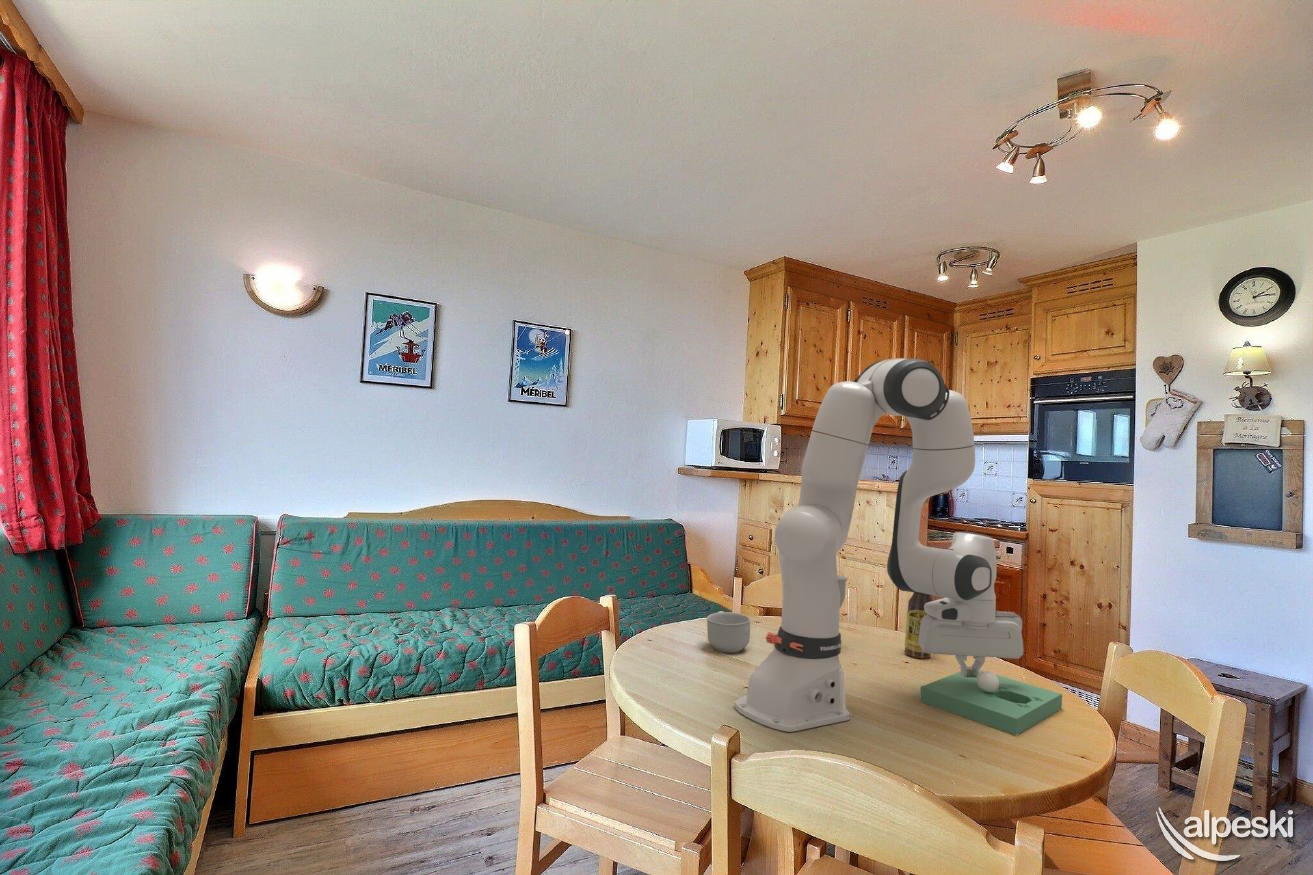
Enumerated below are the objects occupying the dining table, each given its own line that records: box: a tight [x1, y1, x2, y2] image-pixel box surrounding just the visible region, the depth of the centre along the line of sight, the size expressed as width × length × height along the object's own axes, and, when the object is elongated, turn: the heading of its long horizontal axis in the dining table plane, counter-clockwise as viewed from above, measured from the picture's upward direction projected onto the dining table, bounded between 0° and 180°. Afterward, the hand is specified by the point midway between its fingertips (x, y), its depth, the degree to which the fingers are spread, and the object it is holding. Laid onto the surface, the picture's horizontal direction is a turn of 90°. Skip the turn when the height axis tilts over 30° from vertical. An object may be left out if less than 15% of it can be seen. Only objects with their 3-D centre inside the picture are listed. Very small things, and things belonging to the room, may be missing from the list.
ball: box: [977, 670, 999, 693], centre depth 124 cm, size 4×4×4 cm
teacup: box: [706, 610, 751, 653], centre depth 155 cm, size 14×11×8 cm
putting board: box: [919, 669, 1063, 736], centre depth 125 cm, size 22×18×3 cm
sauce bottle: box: [904, 592, 933, 660], centre depth 156 cm, size 6×6×20 cm
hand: (969, 676), depth 128 cm, fingers closed
